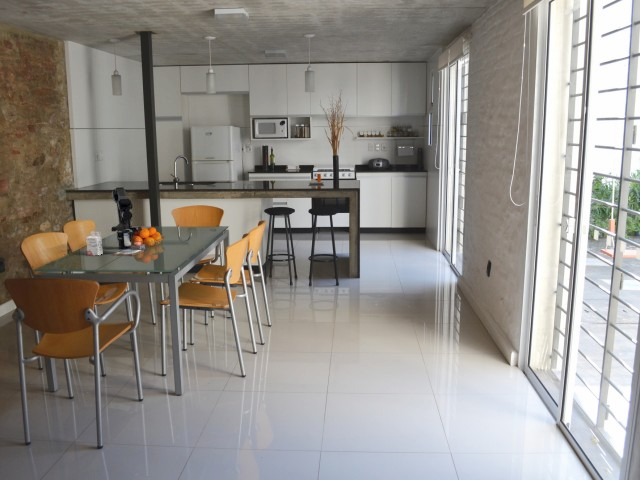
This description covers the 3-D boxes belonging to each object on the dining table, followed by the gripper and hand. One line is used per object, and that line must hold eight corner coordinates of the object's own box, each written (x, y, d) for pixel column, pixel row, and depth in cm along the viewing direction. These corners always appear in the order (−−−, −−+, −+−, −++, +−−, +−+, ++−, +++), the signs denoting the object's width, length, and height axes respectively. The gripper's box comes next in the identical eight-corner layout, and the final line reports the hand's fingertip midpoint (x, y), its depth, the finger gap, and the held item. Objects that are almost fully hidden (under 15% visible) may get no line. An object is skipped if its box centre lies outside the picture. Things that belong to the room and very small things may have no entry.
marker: (123, 245, 385) (122, 233, 383) (126, 244, 389) (125, 232, 387) (129, 246, 384) (128, 233, 382) (132, 244, 388) (131, 232, 386)
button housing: (131, 250, 396) (130, 246, 395) (136, 248, 402) (136, 244, 401) (139, 250, 394) (139, 246, 394) (145, 249, 400) (144, 244, 400)
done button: (133, 247, 396) (132, 242, 396) (136, 245, 400) (136, 241, 400) (139, 247, 395) (138, 243, 395) (142, 246, 399) (142, 241, 399)
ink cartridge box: (87, 255, 385) (84, 232, 382) (92, 253, 390) (90, 231, 387) (98, 255, 382) (96, 232, 379) (103, 254, 387) (101, 231, 384)
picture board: (112, 255, 382) (112, 253, 382) (124, 250, 396) (124, 249, 395) (132, 256, 379) (132, 254, 379) (144, 251, 392) (144, 249, 392)
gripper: (105, 219, 378) (107, 244, 380) (131, 220, 373) (133, 245, 376) (115, 217, 388) (117, 240, 391) (141, 217, 384) (143, 241, 387)
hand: (127, 242), depth 386 cm, fingers closed on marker, 4 cm apart
